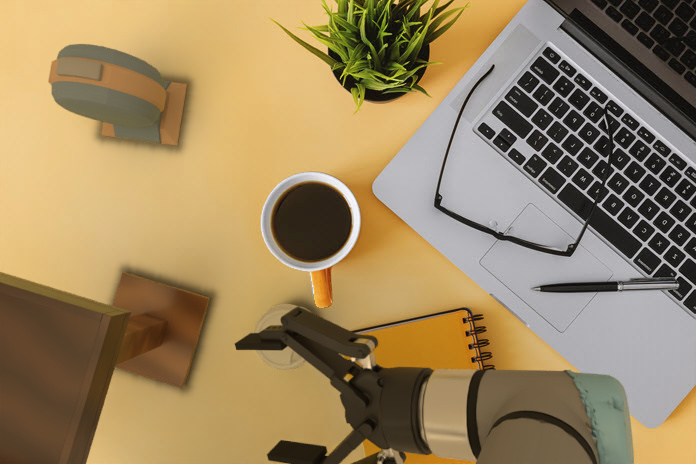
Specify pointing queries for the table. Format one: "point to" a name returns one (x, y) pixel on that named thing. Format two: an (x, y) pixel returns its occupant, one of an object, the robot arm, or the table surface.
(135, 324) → the tray stand
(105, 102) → the alarm clock
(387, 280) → the table surface
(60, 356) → the serving tray
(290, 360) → the coffee cup
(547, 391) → the robot arm
